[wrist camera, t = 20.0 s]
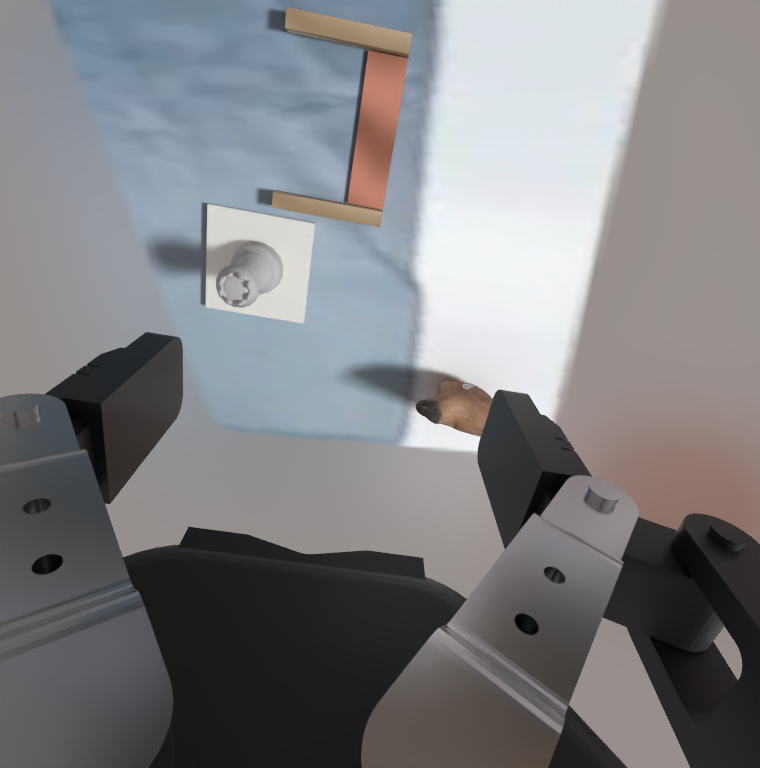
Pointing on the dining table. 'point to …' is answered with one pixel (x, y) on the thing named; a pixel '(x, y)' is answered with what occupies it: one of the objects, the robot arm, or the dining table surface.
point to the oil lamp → (458, 407)
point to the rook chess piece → (249, 274)
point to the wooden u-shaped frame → (373, 120)
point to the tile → (277, 232)
